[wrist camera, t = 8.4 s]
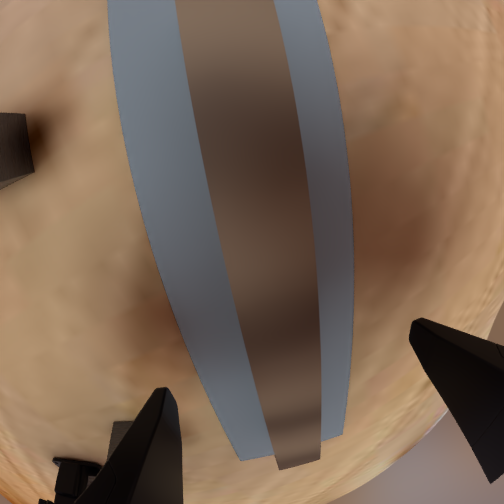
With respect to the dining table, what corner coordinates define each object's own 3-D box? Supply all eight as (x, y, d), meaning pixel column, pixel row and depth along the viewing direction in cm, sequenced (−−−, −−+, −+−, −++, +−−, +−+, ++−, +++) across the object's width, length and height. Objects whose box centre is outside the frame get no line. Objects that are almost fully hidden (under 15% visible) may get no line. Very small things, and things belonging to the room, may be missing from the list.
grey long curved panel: (340, 430, 20) (342, 434, 20) (239, 456, 20) (240, 461, 19) (301, -31, 8) (305, -35, 8) (110, -5, 7) (107, -9, 7)
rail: (308, 429, 19) (320, 459, 16) (271, 439, 18) (279, 470, 16) (252, 10, 8) (266, -24, 6) (179, 20, 8) (172, -14, 5)
